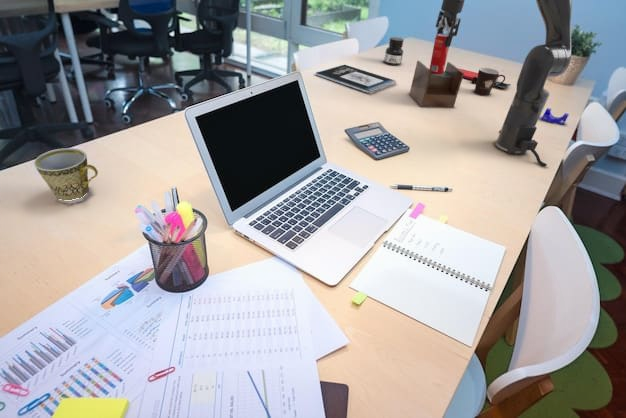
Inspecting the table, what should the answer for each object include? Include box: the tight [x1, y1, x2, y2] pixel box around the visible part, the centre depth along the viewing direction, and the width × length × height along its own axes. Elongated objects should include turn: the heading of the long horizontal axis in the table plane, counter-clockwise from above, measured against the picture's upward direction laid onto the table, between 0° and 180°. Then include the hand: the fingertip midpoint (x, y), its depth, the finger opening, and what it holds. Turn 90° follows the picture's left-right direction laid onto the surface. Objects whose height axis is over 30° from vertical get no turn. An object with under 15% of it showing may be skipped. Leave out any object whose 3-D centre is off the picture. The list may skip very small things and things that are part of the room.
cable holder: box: [541, 107, 570, 126], centre depth 154 cm, size 8×4×4 cm, turn 52°
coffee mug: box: [473, 67, 506, 97], centre depth 172 cm, size 12×9×10 cm
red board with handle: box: [457, 67, 511, 89], centre depth 190 cm, size 30×3×15 cm
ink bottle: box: [383, 36, 404, 66], centre depth 199 cm, size 10×9×12 cm
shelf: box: [409, 60, 464, 109], centre depth 159 cm, size 14×14×14 cm
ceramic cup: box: [33, 147, 99, 205], centre depth 89 cm, size 13×10×10 cm
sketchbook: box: [315, 64, 397, 95], centre depth 176 cm, size 22×30×2 cm
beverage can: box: [428, 33, 450, 75], centre depth 155 cm, size 6×6×15 cm
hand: (442, 43), depth 152 cm, fingers open, 8 cm apart
